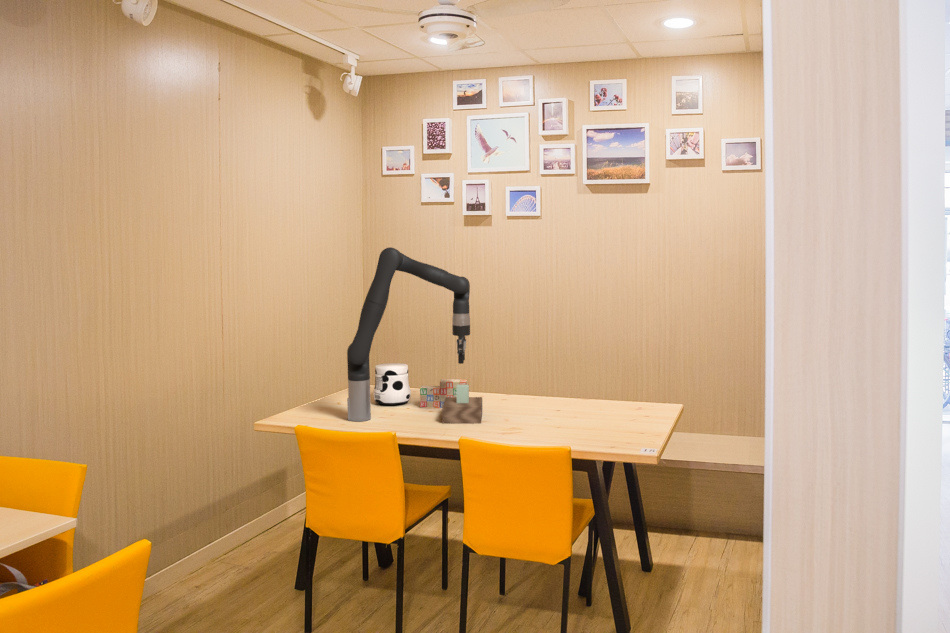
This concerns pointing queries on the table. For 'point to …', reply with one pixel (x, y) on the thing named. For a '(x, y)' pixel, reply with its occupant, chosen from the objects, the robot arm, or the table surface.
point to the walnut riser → (462, 410)
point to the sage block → (462, 393)
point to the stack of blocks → (439, 392)
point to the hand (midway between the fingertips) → (461, 361)
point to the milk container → (391, 384)
